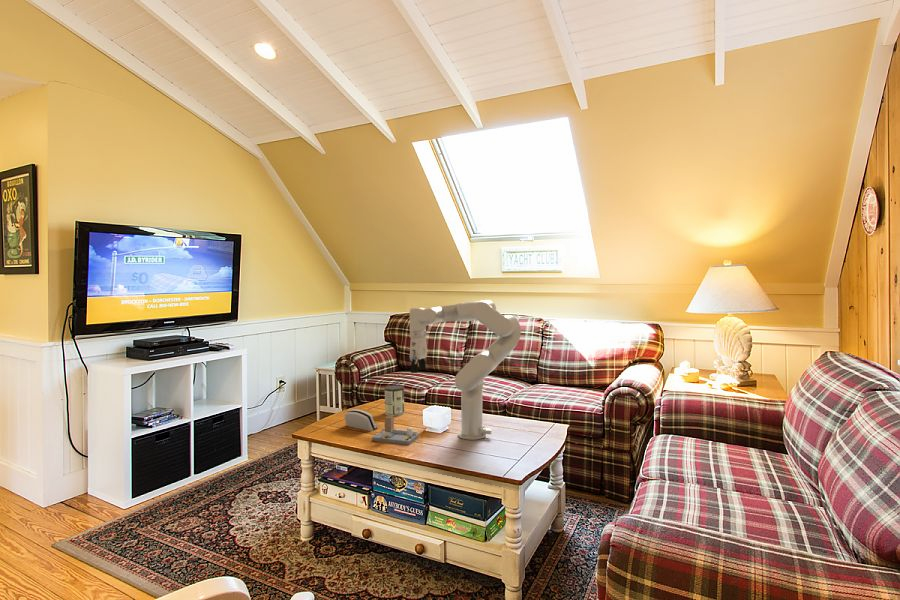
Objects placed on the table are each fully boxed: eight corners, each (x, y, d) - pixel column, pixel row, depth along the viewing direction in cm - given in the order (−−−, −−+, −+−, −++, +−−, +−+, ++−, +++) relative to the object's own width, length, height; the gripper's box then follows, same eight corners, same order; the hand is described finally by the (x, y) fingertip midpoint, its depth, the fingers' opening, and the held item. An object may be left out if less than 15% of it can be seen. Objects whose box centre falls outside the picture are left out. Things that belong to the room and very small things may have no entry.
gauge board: (418, 437, 223) (418, 425, 223) (409, 444, 214) (409, 432, 214) (382, 433, 229) (382, 422, 229) (372, 440, 220) (371, 428, 220)
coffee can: (392, 409, 271) (392, 384, 270) (408, 412, 265) (407, 386, 265) (380, 414, 262) (380, 387, 261) (396, 417, 257) (396, 390, 256)
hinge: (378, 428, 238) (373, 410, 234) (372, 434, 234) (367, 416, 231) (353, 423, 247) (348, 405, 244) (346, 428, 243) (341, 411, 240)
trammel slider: (396, 432, 225) (396, 415, 224) (387, 438, 216) (387, 420, 216) (388, 432, 226) (388, 414, 226) (379, 438, 218) (379, 419, 217)
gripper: (417, 336, 222) (418, 374, 223) (432, 332, 239) (432, 367, 240) (402, 336, 225) (403, 373, 226) (417, 332, 241) (418, 367, 242)
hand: (418, 370), depth 233 cm, fingers open, 9 cm apart
